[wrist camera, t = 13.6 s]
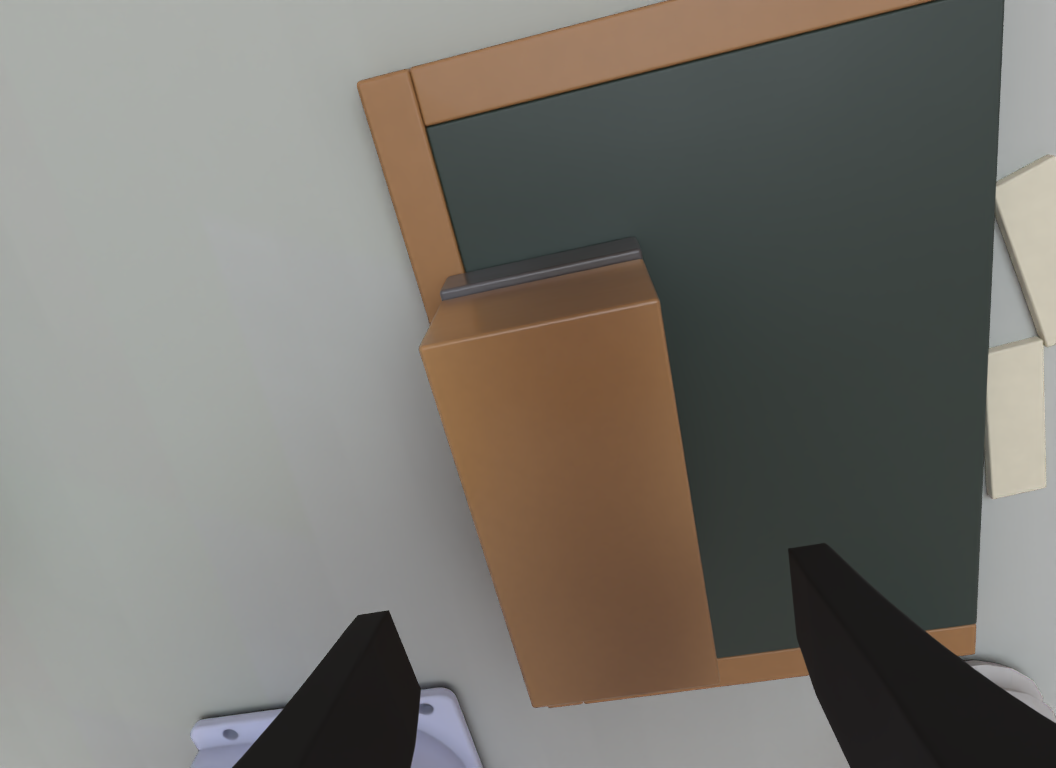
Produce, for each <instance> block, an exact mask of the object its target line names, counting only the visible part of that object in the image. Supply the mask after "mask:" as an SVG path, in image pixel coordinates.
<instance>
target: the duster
mask: <svg viewBox="0 0 1056 768" xmlns="http://www.w3.org/2000/svg"><path fill="white" fill-rule="evenodd" d="M440 297H441V300H442V302H441V304H440V306H439V308H438V310H437V312H436V314H435V316H434V318H433V320H432V322H431V324H430V326H429V328H428V330H427V332H426V334H425V336H424V338H423V340H422V342H421V344H420V346H419V352H420V355H421V358H422V361H423V364H424V367H425V371H426V374H427V377H428V380H429V383H430V386H431V389H432V393H433V396H434V399H435V402H436V405H437V408H438V411H439V415H440V418H441V421H442V424H443V427H444V430H445V433H446V437H447V440H448V443H449V446H450V449H451V452H452V455H453V459H454V462H455V465H456V468H457V471H458V474H459V477H460V481H461V484H462V487H463V490H464V493H465V496H466V499H467V503H468V506H469V509H470V512H471V515H472V518H473V521H474V525H475V528H476V531H477V534H478V537H479V540H480V543H481V547H482V550H483V553H484V556H485V559H486V562H487V565H488V569H489V572H490V575H491V578H492V581H493V584H494V587H495V591H496V594H497V597H498V600H499V603H500V606H501V609H502V612H503V616H504V619H505V622H506V625H507V628H508V631H509V634H510V638H511V641H512V644H513V647H514V650H515V653H516V656H517V660H518V663H519V666H520V669H521V672H522V675H523V678H524V682H525V685H526V688H527V691H528V694H529V697H530V700H531V704H532V706H533V707H534V708H538V707H546V706H554V705H561V704H569V703H577V702H585V701H593V700H601V699H608V698H616V697H624V696H632V695H640V694H648V693H656V692H663V691H671V690H679V689H687V688H695V687H703V686H710V685H718V684H719V683H720V676H719V669H718V663H717V657H716V650H715V644H714V638H713V632H712V625H711V619H710V613H709V606H708V600H707V594H706V588H705V581H704V575H703V569H702V562H701V556H700V550H699V544H698V537H697V531H696V525H695V518H694V512H693V506H692V500H691V493H690V487H689V481H688V475H687V468H686V462H685V456H684V449H683V443H682V437H681V431H680V424H679V418H678V412H677V405H676V399H675V393H674V387H673V380H672V374H671V368H670V361H669V355H668V349H667V343H666V336H665V330H664V324H663V318H662V311H661V305H660V300H659V298H658V295H657V293H656V290H655V288H654V285H653V283H652V280H651V278H650V276H649V273H648V271H647V268H646V266H645V263H644V261H643V256H642V251H641V248H640V246H639V243H638V241H637V239H636V238H635V237H629V238H625V239H620V240H615V241H611V242H606V243H601V244H597V245H592V246H588V247H583V248H578V249H574V250H569V251H564V252H560V253H555V254H550V255H546V256H541V257H537V258H532V259H527V260H523V261H518V262H513V263H509V264H504V265H500V266H495V267H490V268H486V269H481V270H476V271H472V272H467V273H463V274H458V275H453V276H449V277H448V278H447V279H446V281H445V283H444V285H443V287H442V289H441V290H440Z"/></svg>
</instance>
